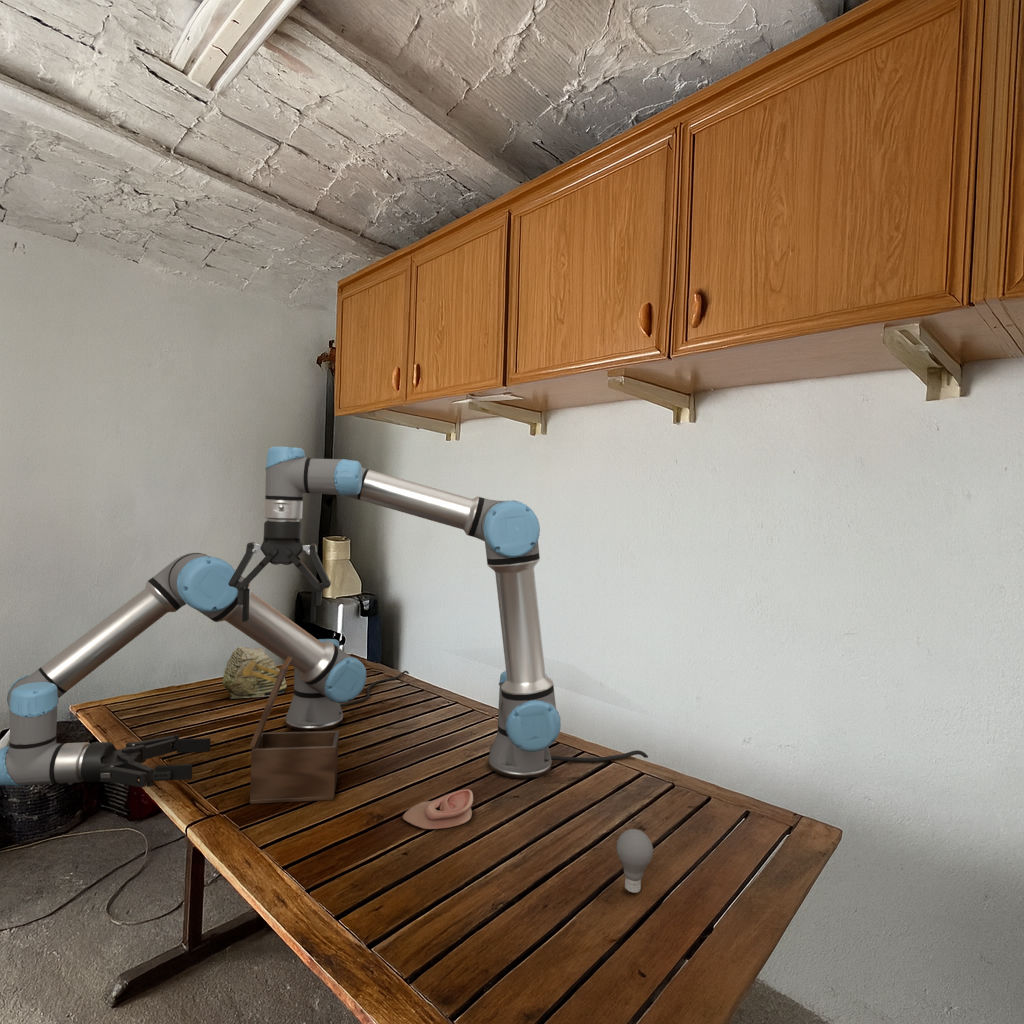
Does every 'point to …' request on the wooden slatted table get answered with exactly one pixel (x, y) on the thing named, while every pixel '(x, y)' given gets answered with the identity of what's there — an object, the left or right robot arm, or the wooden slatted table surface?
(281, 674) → the lid
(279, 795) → the chest
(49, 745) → the left robot arm
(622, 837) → the light bulb
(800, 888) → the wooden slatted table surface
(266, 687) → the fossil
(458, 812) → the anatomical model
